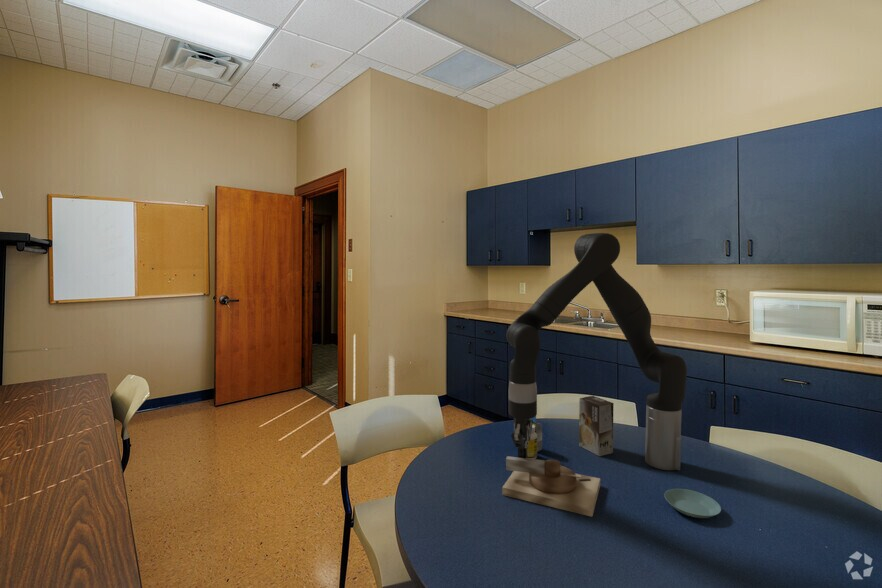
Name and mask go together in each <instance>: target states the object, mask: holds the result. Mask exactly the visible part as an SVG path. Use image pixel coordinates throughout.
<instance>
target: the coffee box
mask: <svg viewBox="0 0 882 588" xmlns="http://www.w3.org/2000/svg"><path fill="white" fill-rule="evenodd" d="M578 403H579V413H578V414H579V417H578V419H579V420H578V422H579V424H578V427H579V428H578V429H579V431H578V433H579V434H578V446H579V447H580V448H582V449H584V450H586V451H589V452H590V453H592V454H594V455H596V456H598V457H602V456H606V455H610V454H613V453H614V405H615V404H614V402H612V401H609V400H606V399H603V398H600V397H598V396H594V395H590V396H589V395H588V396H585V397H584V396H583V397H579V402H578Z"/></svg>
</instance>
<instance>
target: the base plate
mask: <svg viewBox="0 0 882 588" xmlns="http://www.w3.org/2000/svg"><path fill="white" fill-rule="evenodd" d="M575 474H576V475H581V478H577V477H576V488H575V489H574V490H572V491H570V492H567V493H549V492H545V491H542V490H539V489H537V488H536V487H534V486H533V485H532V484H531V483H530V481H529V473H527V472H519V471H512V473H511V475H510V476H509V477H508V478H507V480H506V481H505V483H504V484H503V486H502V487H501V488H502V489H501V490H502V491H501V492H502V493H501V495H502V496H506V497H510V498H512V499H513V498H514V499H517V500H522V501H526V502H530V503H534V504H538V505H542V506H547V507H551V508H555V509H558V510H563V511H567V512H570V513H575V514H580V515H583V516H588V517H592V518H593V516H594V512H595V508H596V503H597V500H598V497H599V493H600V492H599V491H600V488H601V478H600V477H595V476H590V475H585V474H580V473H575Z"/></svg>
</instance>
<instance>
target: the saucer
mask: <svg viewBox="0 0 882 588" xmlns="http://www.w3.org/2000/svg"><path fill="white" fill-rule="evenodd" d="M663 496H664V499H665V500H666V501H667V503H668V504H669V505H670V506H671V507H672V508H674V509H675V510H676V511H678V512H679V513H681V514H683V515H685V516H687V517H690V516H691V517H690V518H695V519H708V518H713V517H715V516H717V515H719V514H720V513H721V511H722V507H721V505H720V504H719V503H718V502H717V501H716V500H715V499H713V498H712V497H711V496H708V495H707V494H704V493H701V492H699V491H697V490H696V491H695V490H692V489H686V488H672V489H671V488H670V489H667V490H666V491H665V492H664V494H663Z"/></svg>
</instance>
